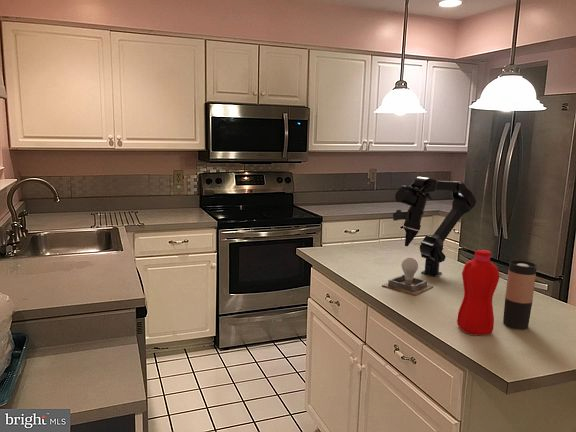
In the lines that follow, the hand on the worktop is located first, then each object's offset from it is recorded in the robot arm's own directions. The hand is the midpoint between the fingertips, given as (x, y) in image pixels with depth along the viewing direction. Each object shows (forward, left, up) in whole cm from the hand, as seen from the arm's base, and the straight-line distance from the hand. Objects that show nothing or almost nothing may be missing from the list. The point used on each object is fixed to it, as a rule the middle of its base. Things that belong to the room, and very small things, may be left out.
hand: (406, 245), depth 192 cm
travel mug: (+16, +49, -14) cm, 53 cm away
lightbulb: (+9, +7, -13) cm, 17 cm away
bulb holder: (+9, +7, -13) cm, 17 cm away
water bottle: (+29, +41, -14) cm, 52 cm away
